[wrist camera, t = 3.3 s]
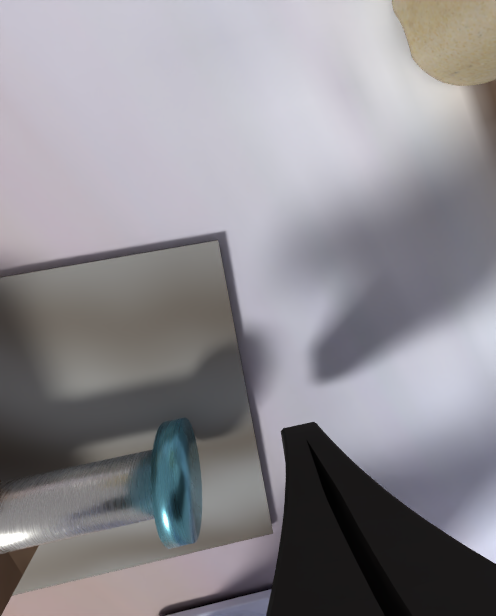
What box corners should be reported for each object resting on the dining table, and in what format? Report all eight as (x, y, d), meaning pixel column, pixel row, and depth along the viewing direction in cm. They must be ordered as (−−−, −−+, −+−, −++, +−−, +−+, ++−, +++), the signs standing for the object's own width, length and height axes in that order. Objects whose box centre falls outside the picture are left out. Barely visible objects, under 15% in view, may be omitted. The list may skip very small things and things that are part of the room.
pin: (204, 469, 13) (199, 572, 9) (-63, 527, 12) (-189, 667, 8) (184, 396, 12) (169, 481, 8) (-115, 457, 11) (-290, 583, 7)
